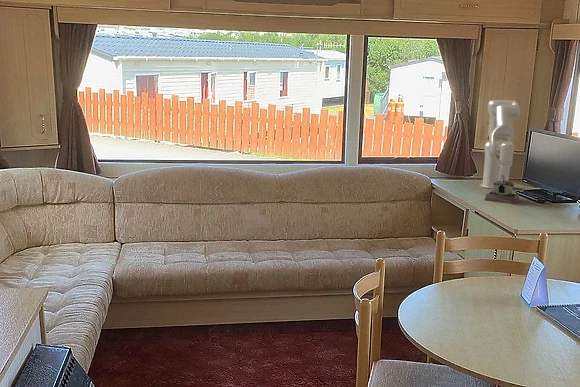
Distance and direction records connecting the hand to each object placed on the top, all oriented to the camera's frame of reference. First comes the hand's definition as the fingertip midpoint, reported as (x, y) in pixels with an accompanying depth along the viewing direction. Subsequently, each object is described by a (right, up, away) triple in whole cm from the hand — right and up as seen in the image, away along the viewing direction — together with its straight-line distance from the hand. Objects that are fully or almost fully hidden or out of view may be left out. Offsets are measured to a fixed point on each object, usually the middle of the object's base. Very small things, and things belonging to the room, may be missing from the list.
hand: (502, 191), depth 344 cm
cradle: (0, -5, +1) cm, 6 cm away
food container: (+1, -4, +2) cm, 5 cm away
